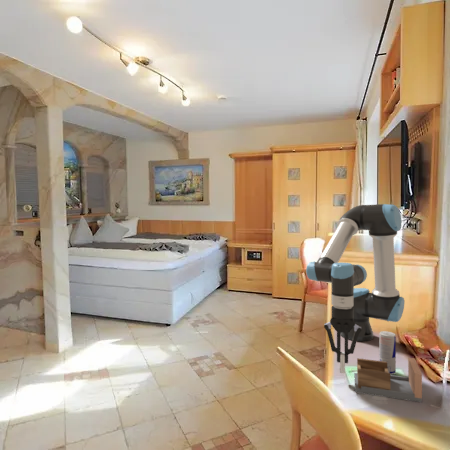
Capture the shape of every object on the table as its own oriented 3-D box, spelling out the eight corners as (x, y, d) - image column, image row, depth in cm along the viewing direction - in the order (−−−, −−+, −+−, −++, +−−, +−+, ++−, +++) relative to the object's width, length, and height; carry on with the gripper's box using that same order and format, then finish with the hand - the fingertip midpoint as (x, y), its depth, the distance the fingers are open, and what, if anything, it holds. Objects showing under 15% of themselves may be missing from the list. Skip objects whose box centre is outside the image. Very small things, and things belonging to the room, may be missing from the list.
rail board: (354, 376, 127) (354, 351, 127) (414, 384, 120) (414, 358, 120) (355, 392, 116) (355, 365, 115) (421, 402, 109) (421, 374, 109)
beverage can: (397, 376, 126) (397, 336, 126) (381, 375, 128) (381, 335, 127) (393, 369, 132) (393, 331, 131) (377, 368, 133) (377, 330, 132)
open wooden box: (357, 374, 126) (357, 358, 126) (387, 378, 122) (387, 361, 122) (358, 387, 116) (358, 370, 116) (390, 392, 113) (390, 374, 113)
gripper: (322, 307, 120) (323, 373, 121) (362, 310, 116) (362, 378, 117) (324, 302, 128) (324, 364, 128) (361, 305, 123) (361, 369, 124)
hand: (342, 371), depth 122 cm, fingers closed
